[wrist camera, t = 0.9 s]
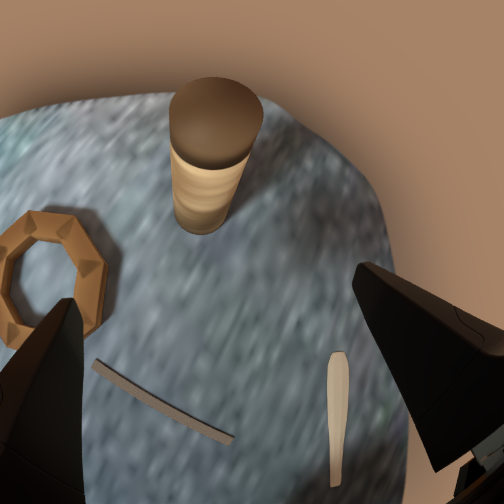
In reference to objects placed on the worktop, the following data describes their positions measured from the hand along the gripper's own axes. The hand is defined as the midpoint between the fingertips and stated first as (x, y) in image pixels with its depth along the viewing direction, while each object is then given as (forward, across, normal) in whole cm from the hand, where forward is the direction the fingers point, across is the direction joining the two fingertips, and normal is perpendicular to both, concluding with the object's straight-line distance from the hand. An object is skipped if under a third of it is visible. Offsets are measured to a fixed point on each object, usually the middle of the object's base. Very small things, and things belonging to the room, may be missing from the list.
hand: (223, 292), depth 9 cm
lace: (+5, +4, +15) cm, 17 cm away
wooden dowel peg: (+16, -1, +5) cm, 16 cm away
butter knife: (-4, -9, +23) cm, 25 cm away
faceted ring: (+12, +13, +8) cm, 19 cm away
